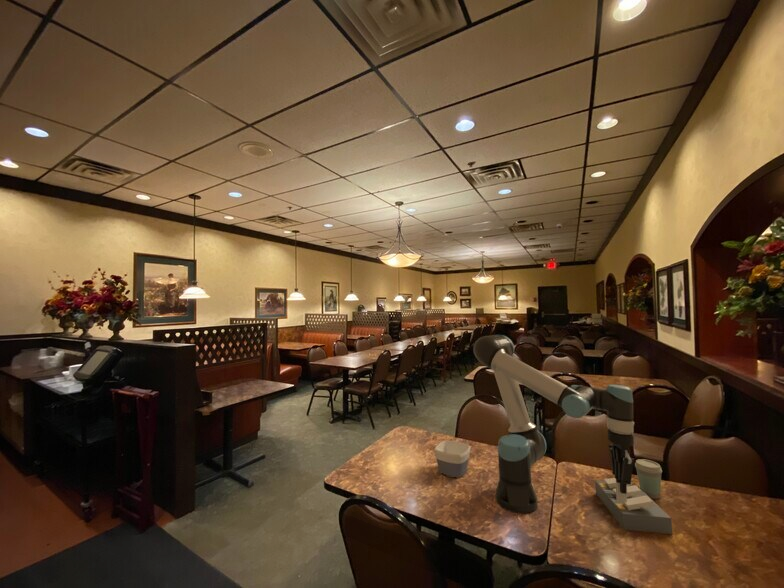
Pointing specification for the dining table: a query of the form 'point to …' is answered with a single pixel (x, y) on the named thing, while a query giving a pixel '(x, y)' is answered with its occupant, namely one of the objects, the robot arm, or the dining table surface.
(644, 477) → the coffee cup
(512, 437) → the robot arm
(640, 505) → the rocker
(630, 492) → the rocker
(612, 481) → the rocker
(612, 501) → the switch unit
